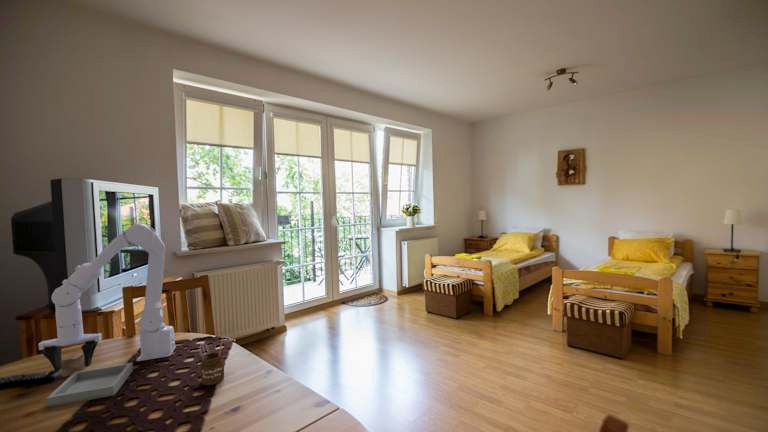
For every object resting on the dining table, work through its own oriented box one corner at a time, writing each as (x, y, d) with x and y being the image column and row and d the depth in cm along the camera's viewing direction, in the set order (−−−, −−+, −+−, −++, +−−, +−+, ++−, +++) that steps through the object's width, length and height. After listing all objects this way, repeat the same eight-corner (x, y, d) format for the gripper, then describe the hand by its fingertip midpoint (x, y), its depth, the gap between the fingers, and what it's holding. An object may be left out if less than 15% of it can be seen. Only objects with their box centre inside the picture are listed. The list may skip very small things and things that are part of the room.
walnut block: (85, 368, 106) (84, 352, 106) (78, 374, 102) (77, 358, 102) (69, 370, 105) (67, 354, 105) (62, 377, 101) (60, 360, 101)
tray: (133, 370, 104) (132, 362, 104) (114, 395, 91) (113, 386, 90) (76, 380, 99) (75, 371, 99) (47, 407, 86) (46, 398, 86)
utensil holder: (201, 378, 98) (198, 337, 97) (225, 372, 101) (222, 332, 100) (200, 388, 93) (198, 345, 92) (226, 381, 96) (223, 340, 95)
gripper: (30, 332, 97) (34, 379, 97) (93, 324, 101) (96, 369, 102) (45, 324, 103) (49, 367, 104) (103, 317, 108) (106, 358, 109)
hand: (73, 367), depth 104 cm, fingers open, 7 cm apart
